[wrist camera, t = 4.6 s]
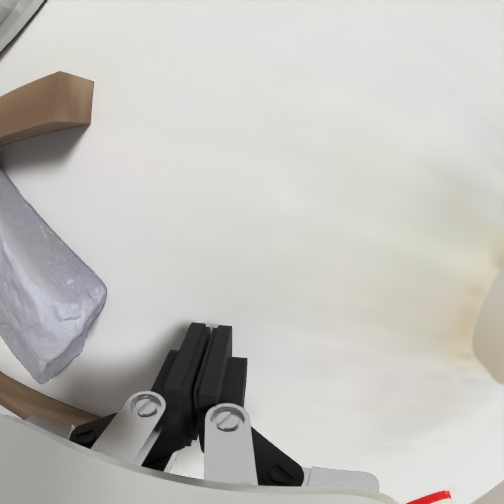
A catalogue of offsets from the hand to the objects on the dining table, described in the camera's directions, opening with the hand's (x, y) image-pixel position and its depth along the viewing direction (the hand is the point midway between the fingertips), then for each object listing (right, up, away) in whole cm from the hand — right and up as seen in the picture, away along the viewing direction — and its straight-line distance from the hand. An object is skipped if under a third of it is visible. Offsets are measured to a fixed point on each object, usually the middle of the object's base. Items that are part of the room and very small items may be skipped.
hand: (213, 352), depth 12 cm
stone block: (-12, +3, +2) cm, 13 cm away
